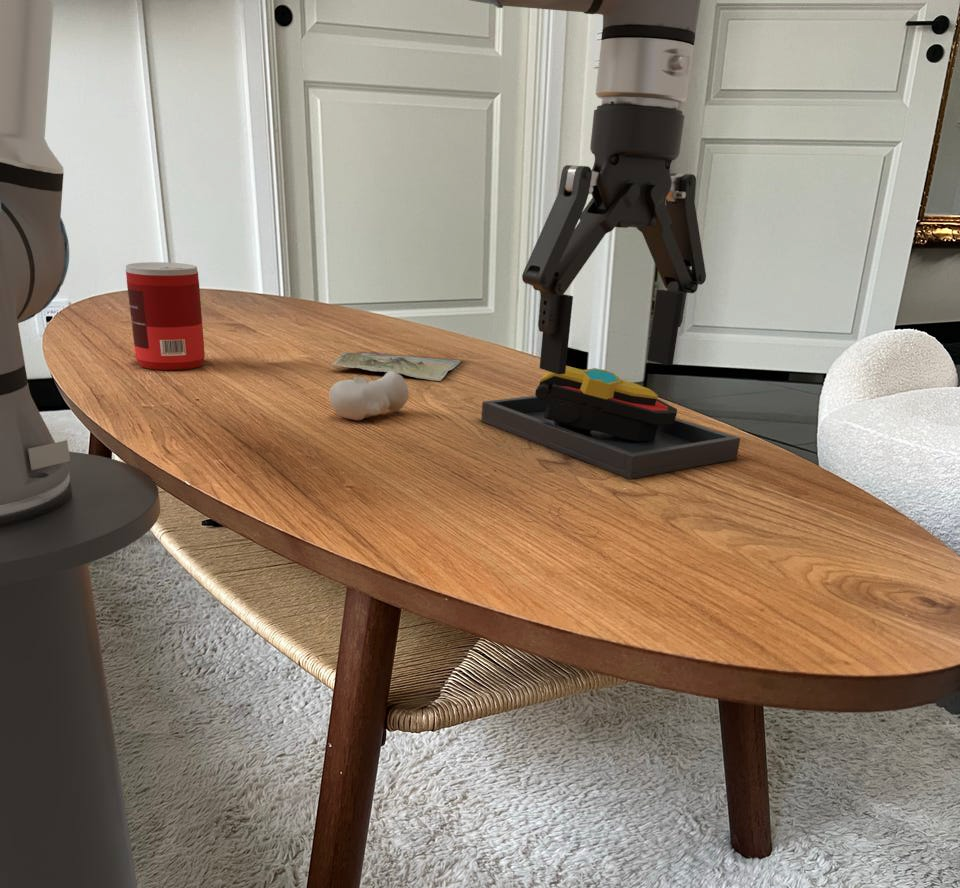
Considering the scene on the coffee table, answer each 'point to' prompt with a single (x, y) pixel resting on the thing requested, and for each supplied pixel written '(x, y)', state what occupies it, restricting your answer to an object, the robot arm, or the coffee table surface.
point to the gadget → (603, 404)
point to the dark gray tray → (614, 440)
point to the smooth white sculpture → (368, 396)
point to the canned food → (166, 315)
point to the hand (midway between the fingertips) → (608, 367)
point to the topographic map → (399, 364)
